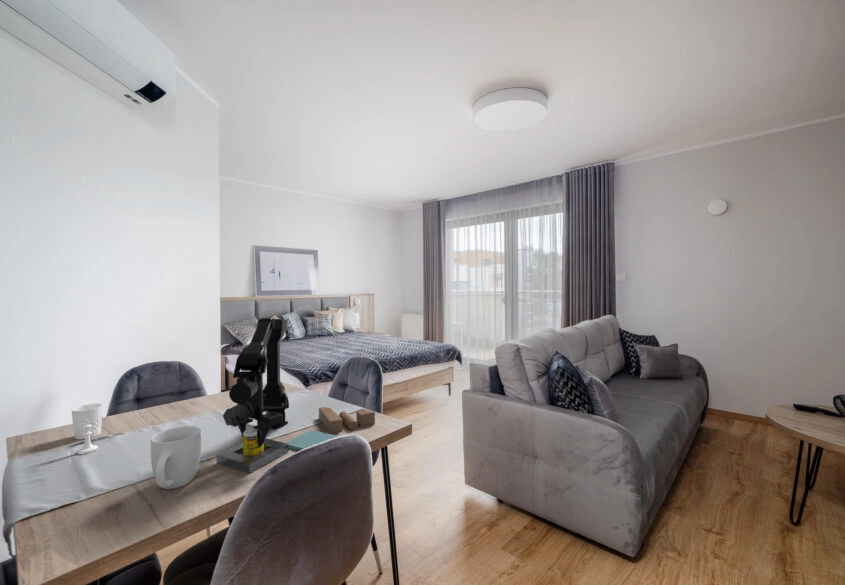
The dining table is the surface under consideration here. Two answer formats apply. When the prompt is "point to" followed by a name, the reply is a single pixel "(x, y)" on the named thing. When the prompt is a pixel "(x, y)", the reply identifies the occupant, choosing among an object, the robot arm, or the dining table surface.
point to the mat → (308, 439)
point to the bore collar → (248, 464)
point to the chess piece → (87, 439)
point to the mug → (176, 456)
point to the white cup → (82, 414)
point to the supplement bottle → (251, 441)
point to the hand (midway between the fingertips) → (253, 444)
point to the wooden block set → (345, 419)
